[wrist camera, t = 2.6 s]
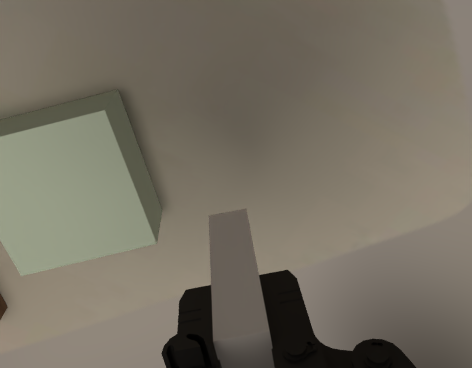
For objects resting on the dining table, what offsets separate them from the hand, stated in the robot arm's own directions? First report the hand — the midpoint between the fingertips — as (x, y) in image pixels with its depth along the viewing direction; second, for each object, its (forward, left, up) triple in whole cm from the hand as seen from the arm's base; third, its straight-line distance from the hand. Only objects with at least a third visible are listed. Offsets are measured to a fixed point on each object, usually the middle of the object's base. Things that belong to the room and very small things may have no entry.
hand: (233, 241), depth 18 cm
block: (+9, 0, -10) cm, 13 cm away
